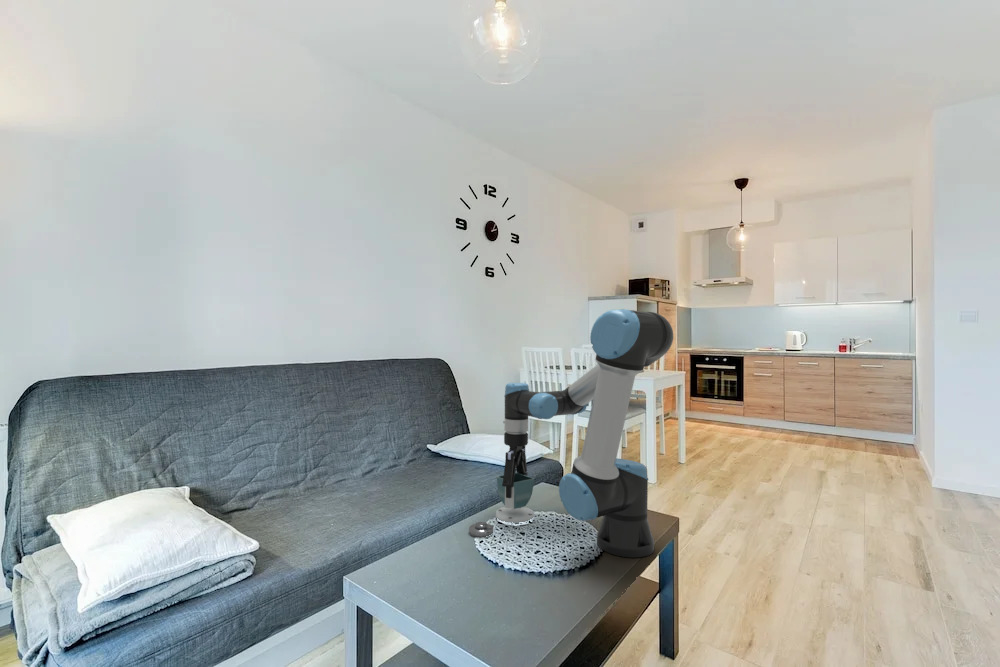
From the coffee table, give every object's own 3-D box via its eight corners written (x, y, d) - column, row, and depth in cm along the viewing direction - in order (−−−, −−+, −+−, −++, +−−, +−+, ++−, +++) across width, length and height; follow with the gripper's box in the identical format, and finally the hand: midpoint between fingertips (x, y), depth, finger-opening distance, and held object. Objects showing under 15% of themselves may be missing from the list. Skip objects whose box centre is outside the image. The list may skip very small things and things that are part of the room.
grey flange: (538, 514, 148) (538, 508, 148) (528, 528, 136) (528, 521, 136) (502, 510, 152) (503, 503, 152) (490, 523, 140) (490, 516, 140)
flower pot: (515, 499, 150) (516, 472, 151) (534, 507, 144) (535, 478, 144) (495, 505, 145) (495, 476, 145) (513, 512, 138) (514, 482, 138)
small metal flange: (496, 530, 135) (496, 521, 135) (488, 539, 128) (488, 530, 128) (474, 526, 137) (474, 518, 137) (465, 535, 131) (465, 526, 131)
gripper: (515, 425, 157) (514, 489, 157) (492, 437, 135) (491, 512, 134) (536, 426, 155) (535, 492, 154) (516, 439, 133) (515, 516, 132)
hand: (515, 501), depth 144 cm, fingers closed on flower pot, 11 cm apart
